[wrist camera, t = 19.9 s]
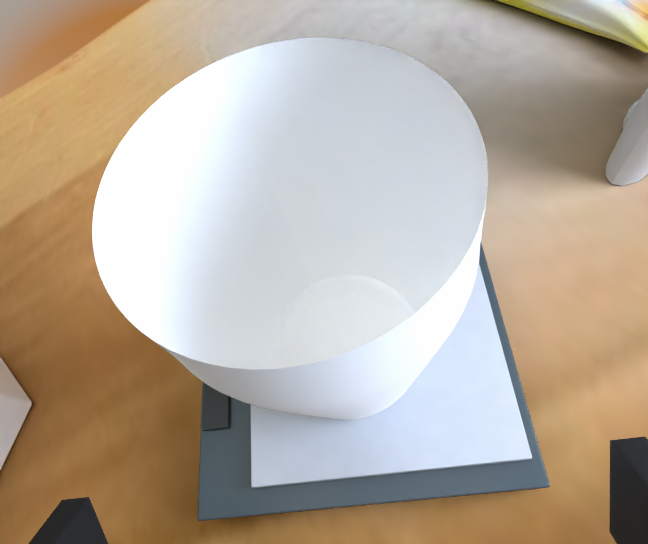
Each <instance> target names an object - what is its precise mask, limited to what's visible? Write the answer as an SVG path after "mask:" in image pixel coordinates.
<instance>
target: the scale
mask: <svg viewBox="0 0 648 544" xmlns="http://www.w3.org/2000/svg"><path fill="white" fill-rule="evenodd" d="M546 487H550V485H549V481H548V477H547V474H546V470H545V467H544V463H543V460H542V456H541V453H540V449H539V446H538V442H537V439H536V435H535V431H534V428H533V424H532V421H531V417H530V414H529V410H528V407H527V403H526V400H525V396H524V393H523V389H522V386H521V382H520V378H519V375H518V371H517V368H516V364H515V361H514V357H513V354H512V350H511V347H510V343H509V340H508V336H507V333H506V329H505V325H504V322H503V318H502V315H501V311H500V308H499V304H498V301H497V297H496V294H495V290H494V287H493V283H492V279H491V276H490V272H489V269H488V265H487V262H486V258H485V255H484V251H483V248H482V244H481V242H480V255H479V264H478V269H477V275H476V279H475V283H474V286H473V289H472V292H471V295H470V297H469V300H468V302H467V304H466V307H465V309H464V311H463V313H462V315H461V317H460V319H459V321H458V322H457V324H456V326H455V327H454V329H453V331H452V332H451V334H450V335H449V337H448V338H447V339H446V341H445V342H444V343H443V345H442V346H441V347H440V349H439V350H438V351H437V353H436V354H435V355H434V357H433V358H432V359H431V360H430V362H429V363H428V364H427V366H426V367H425V368H424V369H423V371H422V372H421V373H420V374H419V376H418V377H417V378H416V379H415V381H414V382H413V383H412V385H411V386H410V387H409V388H408V390H407V391H406V392H405V393H404V394H403V395H402V396H401V397H400V398H399V399H398V400H397V401H396V402H395V403H393V404H392V405H391V406H389V407H388V408H386V409H384V410H383V411H381V412H379V413H376V414H374V415H371V416H368V417H364V418H360V419H352V420H341V419H331V418H324V417H317V416H310V415H303V414H296V413H290V412H284V411H277V410H272V409H267V408H262V407H258V406H255V405H251V404H248V403H245V402H242V401H239V400H237V399H235V398H232V397H230V396H228V395H225V394H223V393H221V392H219V391H217V390H216V389H214V388H212V387H210V386H209V385H207V384H205V383H204V382H203V387H202V414H201V441H200V467H199V494H198V521H204V520H217V519H228V518H238V517H249V516H259V515H270V514H280V513H290V512H301V511H311V510H322V509H332V508H342V507H353V506H363V505H373V504H384V503H394V502H405V501H415V500H425V499H436V498H446V497H457V496H467V495H477V494H488V493H498V492H508V491H519V490H529V489H538V488H546Z"/></svg>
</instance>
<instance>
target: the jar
mask: <svg viewBox="0 0 648 544" xmlns="http://www.w3.org/2000/svg"><path fill="white" fill-rule="evenodd" d="M31 405H32V403H31V400H30V399H29V398H28V396H27V395H26V393H25V392H24V390H23V389H22V387H21V386H20V384H19V383H18V381H17V380H16V379H15V377H14V376H13V374H12V373H11V371H10V370H9V368H8V367H7V365H6V364H5V362H4V361H3V360H2V358H1V357H0V470H1V468H2V466H3V464H4V462H5V460H6V458H7V456H8V454H9V452H10V449H11V447H12V445H13V443H14V441H15V439H16V437H17V435H18V433H19V431H20V428H21V426H22V424H23V422H24V420H25V418H26V416H27V414H28V412H29V410H30V408H31Z"/></svg>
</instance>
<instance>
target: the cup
mask: <svg viewBox="0 0 648 544" xmlns="http://www.w3.org/2000/svg"><path fill="white" fill-rule="evenodd" d="M487 189H488V163H487V155H486V150H485V145H484V141H483V138H482V135H481V132H480V129H479V127H478V125H477V123H476V120H475V118H474V116H473V114H472V113H471V111H470V109H469V108H468V106H467V105H466V103H465V102H464V100H463V99H462V98H461V97H460V95H459V94H458V93H457V92H456V91H455V89H454V88H453V87H452V86H451V85H450V84H449V83H447V82H446V81H445V80H444V79H443V78H442V77H441V76H440V75H438V74H437V73H436V72H434V71H433V70H432V69H430V68H429V67H427V66H426V65H424V64H422V63H421V62H419V61H418V60H416V59H414V58H412V57H410V56H408V55H406V54H403V53H401V52H398V51H396V50H393V49H391V48H387V47H384V46H381V45H377V44H374V43H369V42H364V41H359V40H352V39H344V38H302V39H293V40H286V41H279V42H275V43H270V44H265V45H261V46H258V47H254V48H251V49H247V50H245V51H242V52H239V53H236V54H233V55H231V56H228V57H226V58H224V59H221V60H219V61H217V62H215V63H213V64H211V65H209V66H207V67H205V68H203V69H201V70H200V71H198V72H196V73H194V74H193V75H191V76H189V77H188V78H186V79H185V80H183V81H182V82H180V83H179V84H177V85H176V86H175V87H173V88H172V89H171V90H169V91H168V92H167V93H166V94H164V95H163V96H162V97H161V98H160V99H158V100H157V101H156V102H155V103H154V104H153V105H152V106H151V107H150V108H149V109H148V110H147V111H146V112H145V113H144V114H143V115H142V116H141V117H140V118H139V119H138V120H137V122H136V123H135V124H134V125H133V126H132V127H131V129H130V130H129V131H128V133H127V134H126V135H125V137H124V138H123V140H122V141H121V142H120V144H119V146H118V147H117V149H116V151H115V152H114V154H113V156H112V158H111V160H110V162H109V164H108V166H107V168H106V170H105V172H104V175H103V177H102V180H101V183H100V186H99V189H98V193H97V196H96V200H95V206H94V212H93V224H92V237H93V249H94V254H95V260H96V264H97V267H98V270H99V274H100V277H101V279H102V281H103V283H104V285H105V288H106V290H107V292H108V293H109V295H110V297H111V298H112V300H113V301H114V303H115V305H116V306H117V307H118V308H119V310H120V311H121V312H122V313H123V314H124V316H125V317H126V318H127V319H128V320H129V321H130V322H131V323H132V324H133V325H134V326H135V327H136V328H137V329H138V330H140V331H141V332H142V333H144V334H145V335H146V336H148V337H149V338H150V339H152V340H153V341H154V342H156V343H157V344H158V345H160V346H161V347H162V348H164V349H165V350H166V351H168V352H169V353H170V354H171V355H173V356H174V357H175V358H176V359H178V360H179V361H180V362H181V363H182V364H183V365H184V366H185V367H186V368H187V369H188V370H189V371H190V372H191V373H192V374H193V375H195V376H196V377H197V378H199V379H200V380H201V381H203V382H204V383H205V384H207V385H209V386H210V387H212V388H214V389H216V390H217V391H219V392H221V393H223V394H225V395H228V396H230V397H232V398H235V399H237V400H239V401H242V402H245V403H248V404H251V405H255V406H258V407H262V408H267V409H272V410H277V411H284V412H290V413H296V414H303V415H310V416H317V417H324V418H331V419H341V420H352V419H360V418H364V417H368V416H371V415H374V414H376V413H379V412H381V411H383V410H384V409H386V408H388V407H389V406H391V405H392V404H393V403H395V402H396V401H397V400H398V399H399V398H400V397H401V396H402V395H403V394H404V393H405V392H406V391H407V390H408V388H409V387H410V386H411V385H412V383H413V382H414V381H415V379H416V378H417V377H418V376H419V374H420V373H421V372H422V371H423V369H424V368H425V367H426V366H427V364H428V363H429V362H430V360H431V359H432V358H433V357H434V355H435V354H436V353H437V351H438V350H439V349H440V347H441V346H442V345H443V343H444V342H445V341H446V339H447V338H448V337H449V335H450V334H451V332H452V331H453V329H454V327H455V326H456V324H457V322H458V321H459V319H460V317H461V315H462V313H463V311H464V309H465V307H466V304H467V302H468V300H469V297H470V295H471V292H472V289H473V286H474V283H475V279H476V275H477V269H478V264H479V255H480V242H481V234H482V226H483V219H484V212H485V205H486V199H487Z"/></svg>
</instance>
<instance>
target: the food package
mask: <svg viewBox="0 0 648 544" xmlns="http://www.w3.org/2000/svg"><path fill="white" fill-rule="evenodd" d="M496 1H499V2H502V3H505V4H508V5H511V6H514V7H517V8H520V9H523V10H526V11H529V12H532V13H534V14H537V15H540V16H543V17H545V18H548V19H551V20H554V21H557V22H559V23H562V24H565V25H568V26H571V27H574V28H577V29H580V30H583V31H586V32H589V33H593V34H596V35H599V36H602V37H606V38H609V39H612V40H615V41H618V42H621V43H624V44H626V45H629V46H631V47H633V48H635V49H638V50H640V51H643V52H645V53H648V0H496Z"/></svg>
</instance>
